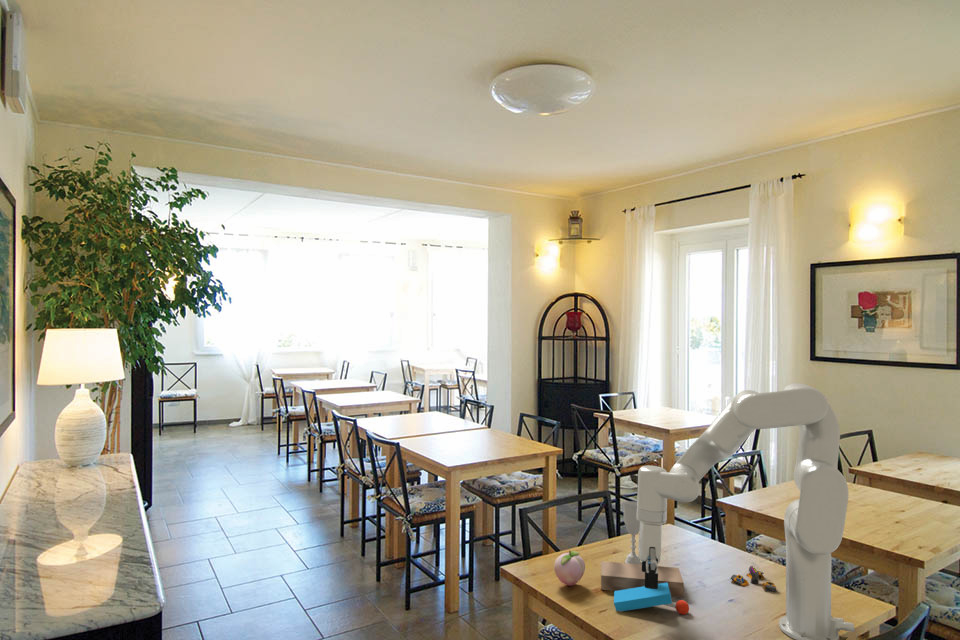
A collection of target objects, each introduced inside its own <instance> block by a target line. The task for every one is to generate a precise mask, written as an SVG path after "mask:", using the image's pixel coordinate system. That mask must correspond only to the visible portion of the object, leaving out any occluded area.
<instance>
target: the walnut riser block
mask: <svg viewBox="0 0 960 640" xmlns="http://www.w3.org/2000/svg"><path fill="white" fill-rule="evenodd" d="M661 583H668V586H669V589H670V593H671V598H672V597H675V598H684V596H685V595H684V587H685V586H684V585H685V584H684V580H683V577H682V574H681V572H680V568H679V567H671V566H661V565H660V566H659V565H658V584H661ZM643 586H645V572H642V564H641V565H639V564H628V563H625V562H615V561H614V562H613V561H603V560H601V561H600V590H602V591H603V590H604V591H611V592H612V591H613V592H614V591H619V590H625V589H631V588H637V587H643Z"/></svg>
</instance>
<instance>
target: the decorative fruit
mask: <svg viewBox="0 0 960 640" xmlns="http://www.w3.org/2000/svg"><path fill="white" fill-rule="evenodd" d="M580 555H581V553H580V552H578V551H577V550H569V552H564V553H562V554H560V555H559V556H557V558H556V559H555V561H554V565H553V566H554V567H553V568H554V573H555V575H556V576H555V577H557V578H558V580H559V581H560V582H561V583H563V584H564V585H566V586H569V587H571V586H574V585H576V584H577V583H578V582H579V581H581V579H582V577H583V576H584V573H585V570H586V563H585V561H584V560H583V558H582V557H581V556H580Z"/></svg>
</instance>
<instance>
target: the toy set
mask: <svg viewBox="0 0 960 640" xmlns="http://www.w3.org/2000/svg"><path fill="white" fill-rule="evenodd" d="M748 571H749V573H746V577H748V578H750V583H749V581H748V580H746V579H745V578H744V576H742V575H740V574H732V575H731V576H730V578H729V579H730V580H731V582H730V583H731V584H735V583H736V584H737V585H739V586H741V587H742V586H743V587H746V586H749V585H750V584H752V585H760V580H764V579H765V576H764V575H763V574H764V572H763V571H761V570H757V569H756V568H755V566H753V565H750V566H749V567H748ZM761 584H762V585H761V586H762V589H763V591H764V592H769V593H770V592H771V593H777V585H776V584H775V583H774V582H773V581H771V582H770V581H768V580H766V581H765V582H762V583H761Z"/></svg>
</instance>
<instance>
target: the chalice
mask: <svg viewBox="0 0 960 640" xmlns="http://www.w3.org/2000/svg"><path fill="white" fill-rule="evenodd" d="M621 505H622V507H623V521H624V525H625V527H626V530H627V532H628V534H629V535H631V539H630V542H631V545H630V548H631V552H630V553H628V554H627V556H626V558H625V561H624V563H628V564H639V565H642V561H641V560H640V557H639V554H637V553H636V551H635V550H636V548H637V546H636V542H637V540H636V535H639V528H640V521H638V520H637V501H632V500H629V501H623V502H622V503H621Z"/></svg>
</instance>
